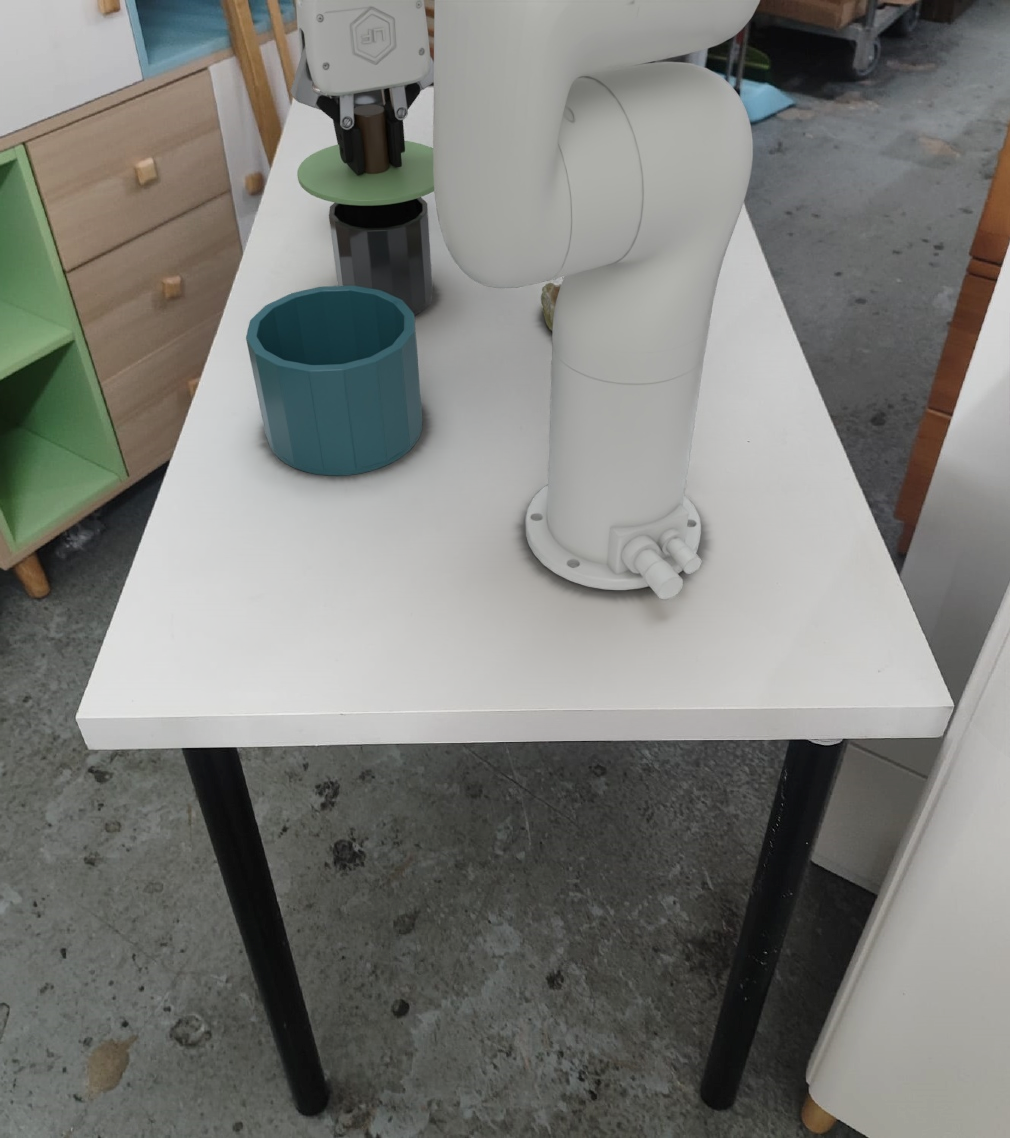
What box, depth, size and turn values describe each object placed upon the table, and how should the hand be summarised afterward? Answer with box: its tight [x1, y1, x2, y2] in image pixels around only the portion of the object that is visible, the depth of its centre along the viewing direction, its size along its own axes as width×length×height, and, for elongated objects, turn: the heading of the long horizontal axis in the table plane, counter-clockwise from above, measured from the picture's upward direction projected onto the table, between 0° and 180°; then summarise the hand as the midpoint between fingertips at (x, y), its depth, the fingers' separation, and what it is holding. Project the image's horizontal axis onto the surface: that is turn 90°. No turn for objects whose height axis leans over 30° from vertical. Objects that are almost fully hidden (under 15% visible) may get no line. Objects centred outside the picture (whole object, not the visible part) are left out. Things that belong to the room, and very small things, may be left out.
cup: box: [328, 197, 434, 316], centre depth 97 cm, size 9×9×9 cm
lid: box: [296, 105, 434, 206], centre depth 90 cm, size 14×14×6 cm
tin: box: [245, 285, 423, 477], centre depth 81 cm, size 13×13×10 cm
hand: (373, 163), depth 91 cm, fingers closed on lid, 2 cm apart
